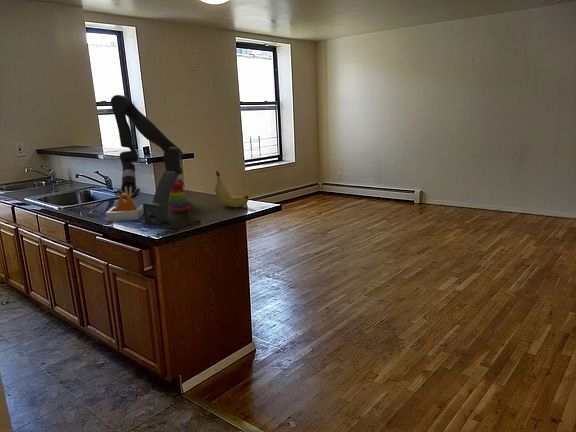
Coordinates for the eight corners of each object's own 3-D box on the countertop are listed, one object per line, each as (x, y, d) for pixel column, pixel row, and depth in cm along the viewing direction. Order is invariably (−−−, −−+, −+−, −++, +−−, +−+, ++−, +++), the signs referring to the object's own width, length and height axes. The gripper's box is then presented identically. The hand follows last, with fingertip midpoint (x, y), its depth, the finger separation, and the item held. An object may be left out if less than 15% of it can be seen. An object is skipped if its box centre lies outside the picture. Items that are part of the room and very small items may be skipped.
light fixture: (184, 217, 231) (180, 171, 225) (158, 225, 217) (153, 176, 211) (170, 215, 236) (165, 170, 231) (144, 222, 222) (138, 175, 217)
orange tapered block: (114, 218, 234) (111, 196, 232) (116, 214, 241) (114, 193, 238) (135, 216, 237) (133, 194, 234) (137, 213, 243) (134, 192, 241)
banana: (251, 207, 249) (249, 172, 244) (245, 209, 244) (243, 173, 239) (220, 203, 260) (218, 170, 255) (214, 205, 255) (211, 171, 251)
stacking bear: (192, 208, 251) (190, 177, 247) (183, 212, 242) (180, 180, 238) (176, 207, 255) (173, 177, 250) (166, 211, 245) (163, 180, 241)
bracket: (144, 213, 243) (143, 205, 242) (138, 219, 229) (137, 211, 228) (114, 214, 242) (113, 206, 240) (106, 221, 228) (105, 213, 227)
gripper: (115, 176, 251) (115, 201, 243) (139, 174, 254) (140, 199, 245) (118, 183, 258) (117, 208, 249) (141, 182, 260) (142, 206, 252)
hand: (128, 204), depth 247 cm, fingers closed
